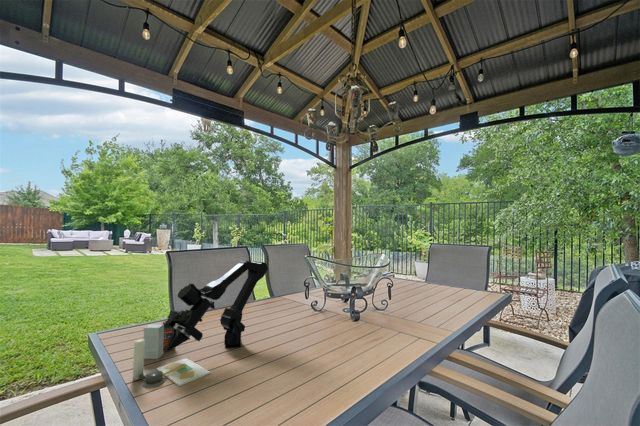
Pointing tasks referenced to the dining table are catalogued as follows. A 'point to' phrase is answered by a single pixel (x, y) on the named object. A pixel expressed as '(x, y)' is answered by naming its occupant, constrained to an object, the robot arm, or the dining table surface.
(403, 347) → the dining table surface
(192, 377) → the tuner board
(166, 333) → the supplement bottle
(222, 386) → the dining table surface
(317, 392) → the dining table surface
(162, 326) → the skincare box
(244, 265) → the robot arm
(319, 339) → the dining table surface
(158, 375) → the peg dial
